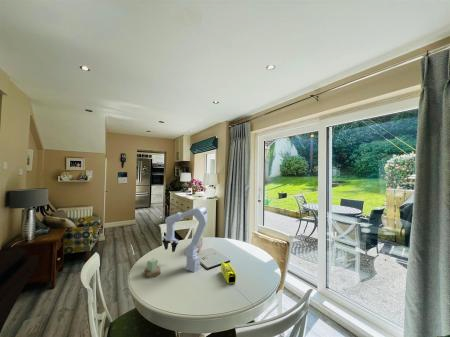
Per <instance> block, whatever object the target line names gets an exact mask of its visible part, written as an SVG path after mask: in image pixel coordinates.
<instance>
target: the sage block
mask: <svg viewBox="0 0 450 337" xmlns="http://www.w3.org/2000/svg"><path fill="white" fill-rule="evenodd" d="M158 261H159V260H158V259H156V258H154V257H153V258H151V259H148V260H147V265H146V266H147V267H146V268H147V270H149V271H151V272H152V271H154V270H156V269H157V266H158Z"/></svg>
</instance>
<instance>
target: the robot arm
mask: <svg viewBox="0 0 450 337" xmlns="http://www.w3.org/2000/svg"><path fill="white" fill-rule="evenodd" d="M189 216H191V217H194V218H195V219H196V221H197V222H198V225H197V227H196V230H195V232H194V234H193V237H192V239H191V242H190V243H189V245H188V246H187V248H185V251H184V254H185V256H186V266H184V267H183V269H185V270H187V271H188V272H192V273H194V272H197V271H199V269H201V258H200V257H199V256H198V255H197V252H198V250H199V241H200V239H201V236H202V237H203V234H204V231H205V228H206V226H207V224H208V210H207V208H206V207H205V206H200V207H195V208H191V209H189V210H187V211H184V212H176V213H175V214H171V215H170V216H167V217H166V218H165V220H164V221H165V224H166V235H163V236H162V240H161V242H162V244H163V246H164V250H165V251H166V250H168V249H169V242H171V243H170V245H171V253H174V252H176V248H177V246H178V244H179V239H177V238H176V237H175V226H176V225H175V224H176V223H178V222H180V221H182V220H184V219H185V217H189Z"/></svg>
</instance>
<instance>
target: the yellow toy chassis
mask: <svg viewBox="0 0 450 337" xmlns="http://www.w3.org/2000/svg"><path fill="white" fill-rule="evenodd" d="M220 264H221V265H220V272H221V274H222V277H223V279H224V280H225V281H226V283H227V284H228V285H229V284H230V285H231V284H236V280H237V274H236V271H235V269H234V268H233V266H232V265H231V263H230V262H224V261H223V260H222V261H221V263H220Z"/></svg>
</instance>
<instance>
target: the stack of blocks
mask: <svg viewBox="0 0 450 337" xmlns="http://www.w3.org/2000/svg"><path fill="white" fill-rule="evenodd" d="M202 247H203V235H202V236H201V239H200V241H199V250H198V252H197V253H199V252H201V249H202ZM199 254H200V253H199Z"/></svg>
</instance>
